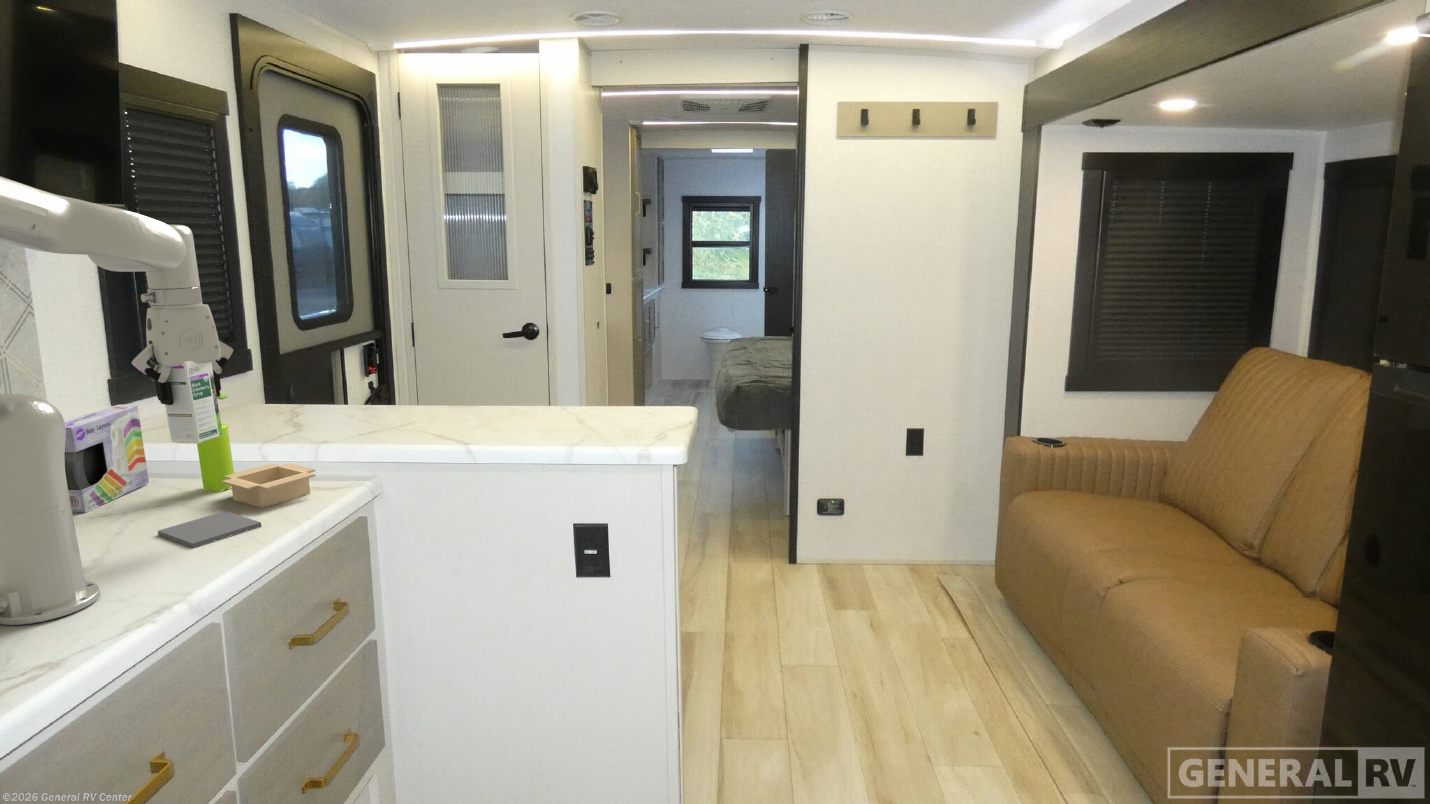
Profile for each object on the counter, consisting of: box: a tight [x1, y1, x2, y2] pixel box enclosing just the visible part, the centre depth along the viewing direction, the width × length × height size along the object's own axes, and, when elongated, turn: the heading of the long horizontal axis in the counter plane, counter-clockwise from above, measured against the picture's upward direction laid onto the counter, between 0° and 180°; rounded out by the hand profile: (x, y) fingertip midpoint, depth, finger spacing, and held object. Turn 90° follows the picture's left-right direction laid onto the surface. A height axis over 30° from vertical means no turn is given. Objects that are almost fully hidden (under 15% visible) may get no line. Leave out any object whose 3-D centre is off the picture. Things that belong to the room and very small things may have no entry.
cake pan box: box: [64, 404, 150, 514], centre depth 171 cm, size 19×5×18 cm, turn 177°
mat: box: [157, 510, 262, 549], centre depth 154 cm, size 12×12×1 cm
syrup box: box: [164, 361, 223, 445], centre depth 149 cm, size 6×6×14 cm
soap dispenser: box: [196, 393, 235, 492], centre depth 177 cm, size 6×7×20 cm
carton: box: [222, 462, 316, 509], centre depth 173 cm, size 14×15×4 cm
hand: (191, 399), depth 149 cm, fingers closed on syrup box, 7 cm apart
